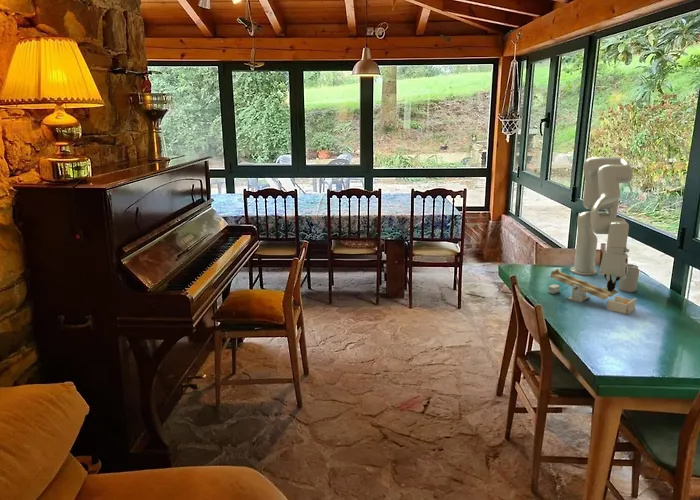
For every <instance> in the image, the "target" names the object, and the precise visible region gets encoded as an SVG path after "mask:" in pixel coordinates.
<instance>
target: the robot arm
mask: <svg viewBox="0 0 700 500" xmlns="http://www.w3.org/2000/svg"><path fill="white" fill-rule="evenodd" d="M583 175H584V179H585V182H584V191H583V199H582V205H583V207H584V208H585V209H588V210H590V211H582V212H580V213H579V214H578V216H577V221H576V223H577V237H576V246H575V247H576V248H575V256H574V262H573V263H574V264H573V266H571V267H570V272H571V273H573V274H577V275H581V276H582V275H583V276H595V275H597V273H598V270H597V269H596V268H595V266H596V264H597V262H596V256H597V248H598V237H597V235H607V241H606V242H607V243H606V249H605V250H604V252H603V255H602V258H601V261H600V266H599V275H600V276H602V277H604V278H605V280H606V281H607V283H606V284H607V285H606V286H607V288H608V290H610V291H612V290H614V289H616V285H617V282H618V281H619V280H625V279H626V274H627V270H628V264H629V257H628V253H630V249H629V248H628V247H627V243H628V237H629V229H630V224H629V223H628V222H627V221H626V219H625V218H623V217H617V216H618V208H619V202H620V201H619V199H620V198H621V190H620V189H621V188H620V184H629V183H630V182H631V181H632V179H633V175H634V173H633V169H632V167H631V165H630V164H629V163H628V161H627V160H626V159H624V158H623V157H613V156H610V157H607V156H595V157H593V156H592V157H589V158H586V159H585V161H584V163H583ZM599 210H603V211H599Z"/></svg>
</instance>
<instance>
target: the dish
mask: <svg viewBox="0 0 700 500" xmlns="http://www.w3.org/2000/svg"><path fill="white" fill-rule="evenodd" d="M623 301H627V302H628V303H627V304H623V303H622V302H623ZM636 305H637V298H636V297H634V298H632V299H631V298H626V297H622V296H618V295H614V299H612V300H610V299H608V300H607V304H606V310H608V311H613V312H616V313H620V314H624V315H628V316H629V314H631V313H632V312H633V311H635V310H636Z"/></svg>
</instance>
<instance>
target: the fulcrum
mask: <svg viewBox="0 0 700 500" xmlns="http://www.w3.org/2000/svg"><path fill="white" fill-rule="evenodd" d="M583 281H584V282H586V283H589V282H588V281H585V280H583ZM580 287H581V286H580V285H575V284H573V286H572V289H571V290H572V291H571V295H570V296H568V297H567V300H569V301H572V302H576V303H580V304H582V303H583V302H585V301H587V300H588V299H590V296H589V295H587V292H584V291H582V290H580ZM560 290H561V285H559V284H555V283H553V284H551V285H549V286H548V292H547V293H548V294H552V295H556V294H558V293H560Z"/></svg>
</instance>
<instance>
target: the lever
mask: <svg viewBox="0 0 700 500" xmlns="http://www.w3.org/2000/svg"><path fill="white" fill-rule="evenodd" d="M549 278H551V279H554V280H557V281H559V282H561V283H563V284H566V285H568V286H571V287H573V284H575V285H580V286H581V287H580V290H582V291H584V292H586V294H589V295H591V296H594V297H597V298H599V299H600V300H606V299H608V298H609V297H613V296H615V295H616V294H617V293H618V292H619V290H618V289H616V288H615V289H614V290H612V291H610V290H608V288H607V285H605V286H604V287H602V288H601V287H598V286H595V285H593V284H591V283H589V282H588V283H586V282H587V281H586V282H584V281H585V280H581V279H579V278H576V277H574V276H571V275H569V274H567V273H564V272H562V271H560V269H559V268H556V269H554V270H551V272H550V276H549Z"/></svg>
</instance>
